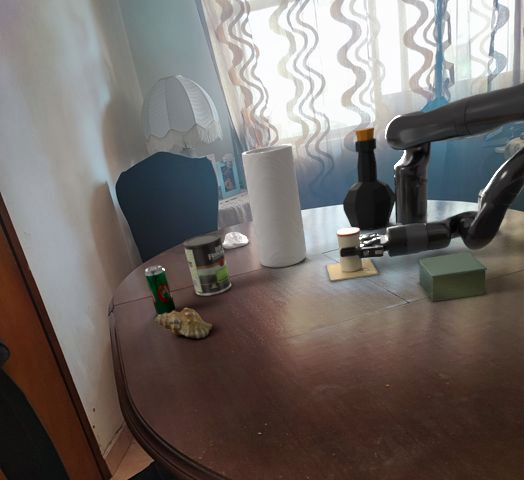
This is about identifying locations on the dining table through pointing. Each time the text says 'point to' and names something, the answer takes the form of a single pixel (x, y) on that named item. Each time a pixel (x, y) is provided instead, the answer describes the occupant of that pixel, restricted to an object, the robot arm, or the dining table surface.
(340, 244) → the canister
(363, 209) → the bottle
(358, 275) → the mat
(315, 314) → the dining table surface
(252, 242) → the dining table surface
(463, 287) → the tin
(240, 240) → the white lumpy mound
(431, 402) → the dining table surface
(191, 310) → the seashell
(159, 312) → the soda can
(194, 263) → the coffee can
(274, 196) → the vase
